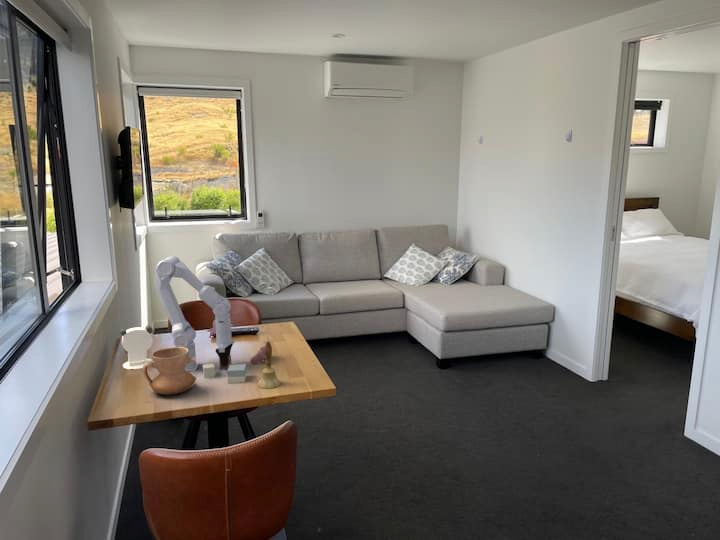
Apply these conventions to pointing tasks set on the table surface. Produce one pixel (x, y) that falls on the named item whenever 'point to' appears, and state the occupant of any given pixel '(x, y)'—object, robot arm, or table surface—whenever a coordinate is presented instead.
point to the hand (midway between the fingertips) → (225, 363)
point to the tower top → (237, 370)
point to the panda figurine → (137, 346)
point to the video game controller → (259, 356)
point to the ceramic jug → (170, 371)
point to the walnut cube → (227, 365)
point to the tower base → (236, 379)
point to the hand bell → (268, 371)
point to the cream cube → (209, 370)
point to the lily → (213, 329)
